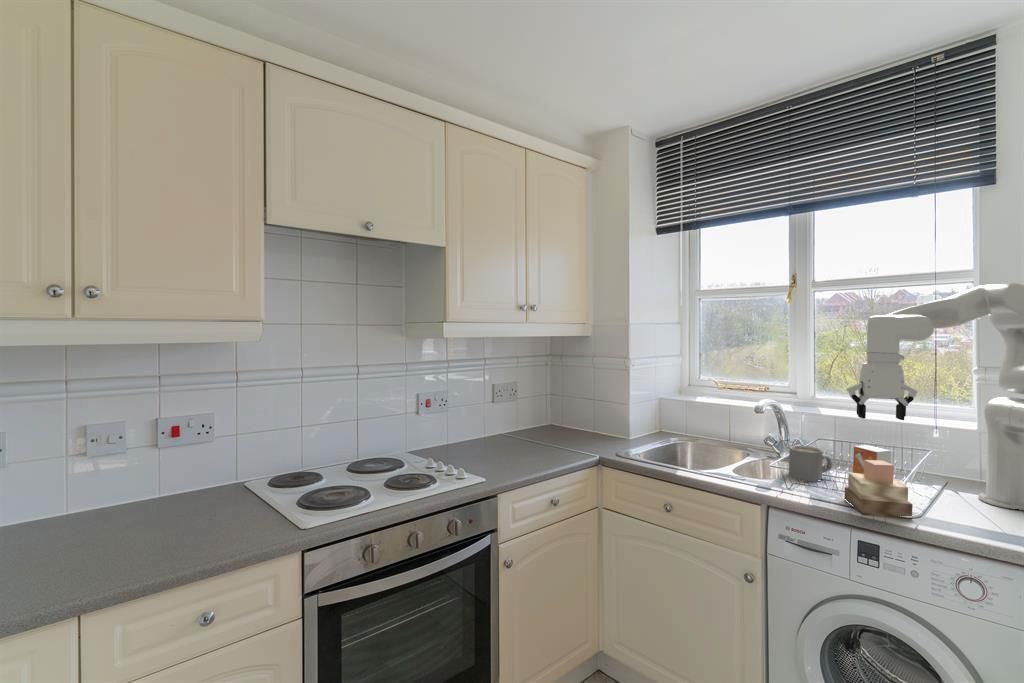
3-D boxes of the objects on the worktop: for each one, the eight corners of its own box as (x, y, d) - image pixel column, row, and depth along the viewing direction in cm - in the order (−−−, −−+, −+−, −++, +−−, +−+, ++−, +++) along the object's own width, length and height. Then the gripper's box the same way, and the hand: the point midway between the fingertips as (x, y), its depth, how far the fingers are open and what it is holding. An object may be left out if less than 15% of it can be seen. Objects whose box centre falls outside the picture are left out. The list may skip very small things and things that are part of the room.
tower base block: (889, 504, 150) (890, 489, 150) (911, 520, 138) (912, 504, 138) (844, 501, 153) (844, 486, 153) (862, 516, 141) (863, 500, 141)
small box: (851, 484, 167) (853, 445, 167) (866, 482, 169) (867, 444, 169) (875, 492, 160) (877, 451, 159) (890, 490, 162) (891, 450, 161)
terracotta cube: (882, 477, 147) (882, 460, 147) (893, 482, 142) (893, 465, 142) (863, 476, 148) (864, 459, 148) (873, 482, 143) (874, 464, 143)
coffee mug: (792, 480, 172) (792, 451, 172) (786, 472, 181) (786, 444, 181) (837, 484, 168) (838, 454, 167) (828, 475, 177) (829, 447, 177)
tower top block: (891, 491, 149) (891, 476, 149) (907, 503, 138) (908, 487, 138) (848, 487, 152) (848, 472, 152) (861, 499, 142) (861, 483, 142)
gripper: (910, 358, 146) (908, 417, 146) (843, 357, 150) (841, 414, 150) (925, 360, 138) (923, 422, 139) (854, 359, 142) (852, 419, 143)
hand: (880, 418), depth 145 cm, fingers open, 9 cm apart
